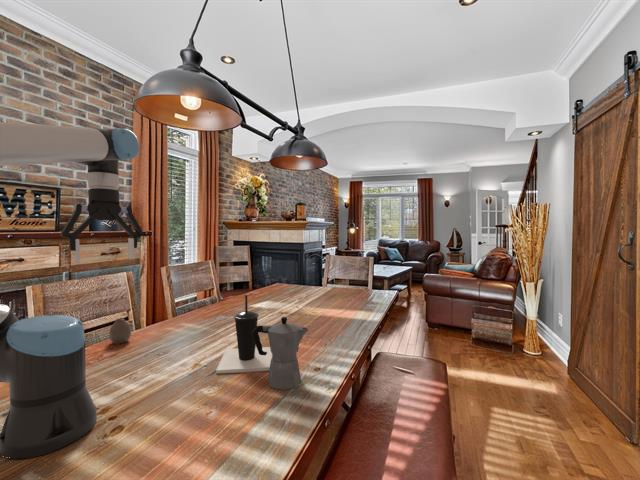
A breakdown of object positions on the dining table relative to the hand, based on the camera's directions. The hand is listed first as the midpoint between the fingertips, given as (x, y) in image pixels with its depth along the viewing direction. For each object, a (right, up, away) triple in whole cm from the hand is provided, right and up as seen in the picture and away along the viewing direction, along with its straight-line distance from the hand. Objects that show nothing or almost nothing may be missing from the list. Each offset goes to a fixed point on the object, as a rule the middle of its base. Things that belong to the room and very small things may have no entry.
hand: (105, 260), depth 91 cm
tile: (+41, -33, +7) cm, 52 cm away
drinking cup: (+40, -32, +7) cm, 52 cm away
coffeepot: (+53, -33, -7) cm, 63 cm away
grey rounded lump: (-11, -32, +23) cm, 41 cm away
